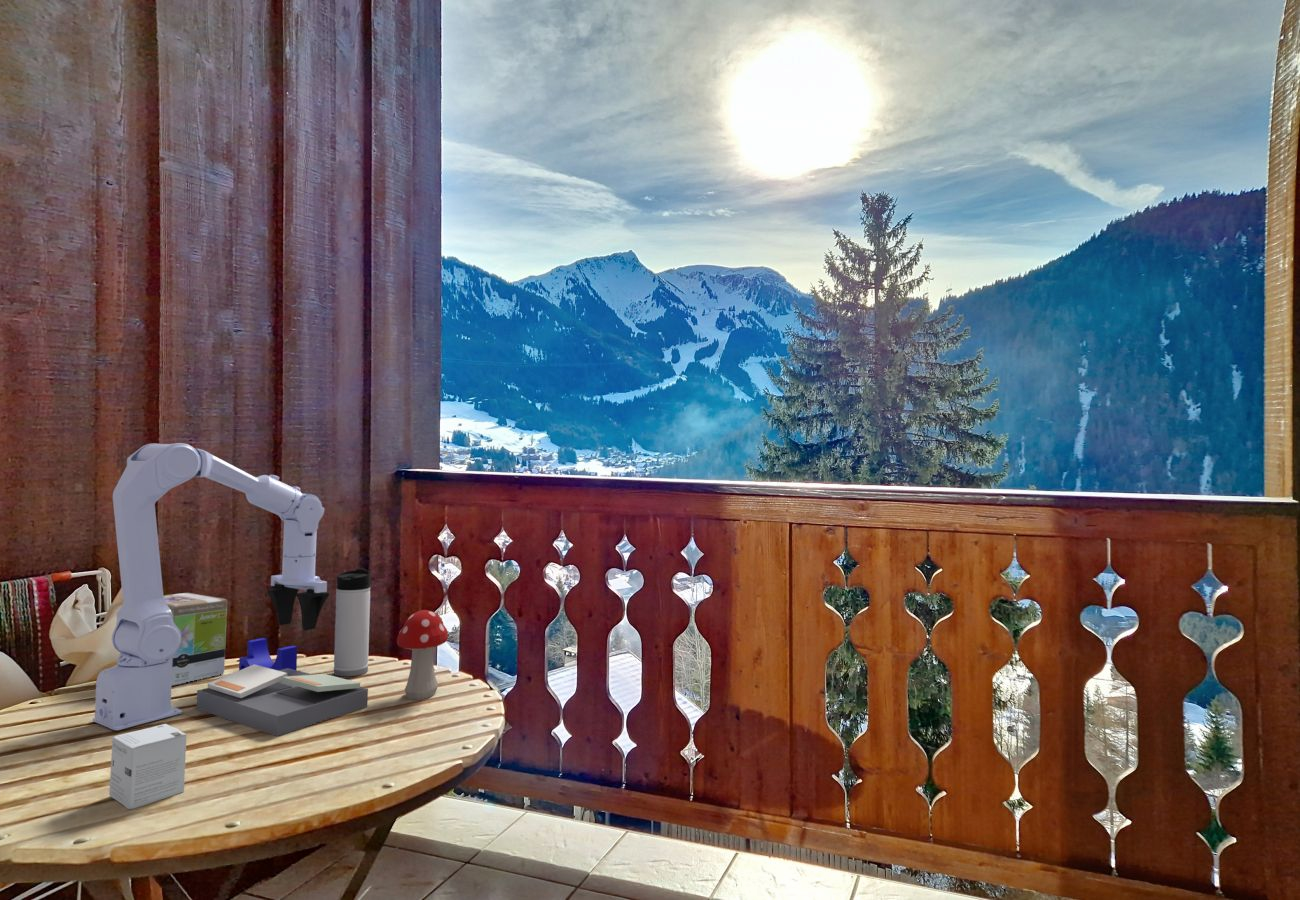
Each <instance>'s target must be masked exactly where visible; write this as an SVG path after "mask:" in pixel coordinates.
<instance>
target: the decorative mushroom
mask: <svg viewBox="0 0 1300 900" xmlns="http://www.w3.org/2000/svg"><path fill="white" fill-rule="evenodd" d="M400 629H401V628H400ZM448 639H449V631H448V629H447V627H446V626H445V624H444V623H443V621H442V619H441V617H440V616H439V615H438V613H435V612H434V611H433V610H428V609H422V610H419V611H416V612H414V613H412V614H411V615H410V616H409V617H408V619H407V620H406V621H405V623H404V625H403V627H402V629H401V630H400V631H399V632H398V634H397V637H396V645H397V646H398V647H400V648H403V649H406V650H411V661H410V669H409V675H408V681H407V682H406V685H405V688H404V692H405V695H406V698H407V699H408V698H409V700H412V699H413V701H414V699H420V700H424V698H425V699H428V697H429V698H431V697H433V696H435V695H436V693H437V690H438V686H439V683H438V679H437V678H436V673H435V667H434V666H435V665H434V648H437V647H438V646H441V645H443V644H445V643H447V642H448Z"/></svg>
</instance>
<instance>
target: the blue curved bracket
mask: <svg viewBox="0 0 1300 900" xmlns="http://www.w3.org/2000/svg"><path fill="white" fill-rule="evenodd" d="M246 645H247V649H246V650H247V652H246V653H247V654H246V656H241V657H238V658H239V659H238V660H239V661H238V662H239V663H238V671H239V670H242V669H244V668H247V667H249V666H252V665H254V664H255V665H258V666H262V667H266V668H270V669H274V670H277V671H278V670H282V669H286V668H289V669H293V670H297V666H298V665H297V664H298V662H297V661H298V646H296V645H289V646H284V647H281V648H277V653H276V657H275V660H273V659H272V657H271V656H270V653H269V649H268V648H269V647H268V638H265V637H261V638H256V639H251V640H247V644H246ZM297 671H298V670H297Z"/></svg>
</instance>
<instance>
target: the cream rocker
mask: <svg viewBox="0 0 1300 900" xmlns="http://www.w3.org/2000/svg"><path fill="white" fill-rule="evenodd" d="M282 677H288V676H287V673H285V672H281V671H277V670H274V669H270V668H266V667H262V666H258V665H255V664H254V665H252V666H249V667H247V668H244V669H242V670H239V669H238V670H237V671H234V672H232V673H229V674H227V675H225V676H223V677H220V678H217V679H216V680H215V679H214V680H212V681H210V682H208V683H207V688H209V689H213V690H216V691H219V692H222V693H226V694H229V695H232V696H235V697H238V698H243V697H245V696H247V695H250V694H252V693H254V692H256V691H259V690H261V689H263V688H265V687H268V686H270V685H272V684H274V683H277V682H279V681H281V680H282Z"/></svg>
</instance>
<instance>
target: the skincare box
mask: <svg viewBox="0 0 1300 900" xmlns="http://www.w3.org/2000/svg"><path fill="white" fill-rule="evenodd" d="M187 736H188V735H187V734H186V733H185V732H183V731H181V730H180V729H179V728H177V727H175V726H171V725H169V724H167V723H163V724H159V725H155V726H150V727H147V728H143V729H139V730H134V731H130V732H126V733H122V734H118V735H115V736H112V738H111V739H112V740H111V741H112V743H111V759H110V760H111V761H110V775H109V777H110V778H109V797H110V798H112V799H114V800H115V801H117V802H118V803H119V804H121V805H123V807H125V809H127V810H134V809H137V808H140V807H142V806H146V805H149V804H151V803H155V802H157V801H161V800H163V799H167V798H169V797H173V796H175V795H179V794H182V793H184V792H185V774H186V754H187V753H186V752H187V738H188V737H187Z"/></svg>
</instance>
